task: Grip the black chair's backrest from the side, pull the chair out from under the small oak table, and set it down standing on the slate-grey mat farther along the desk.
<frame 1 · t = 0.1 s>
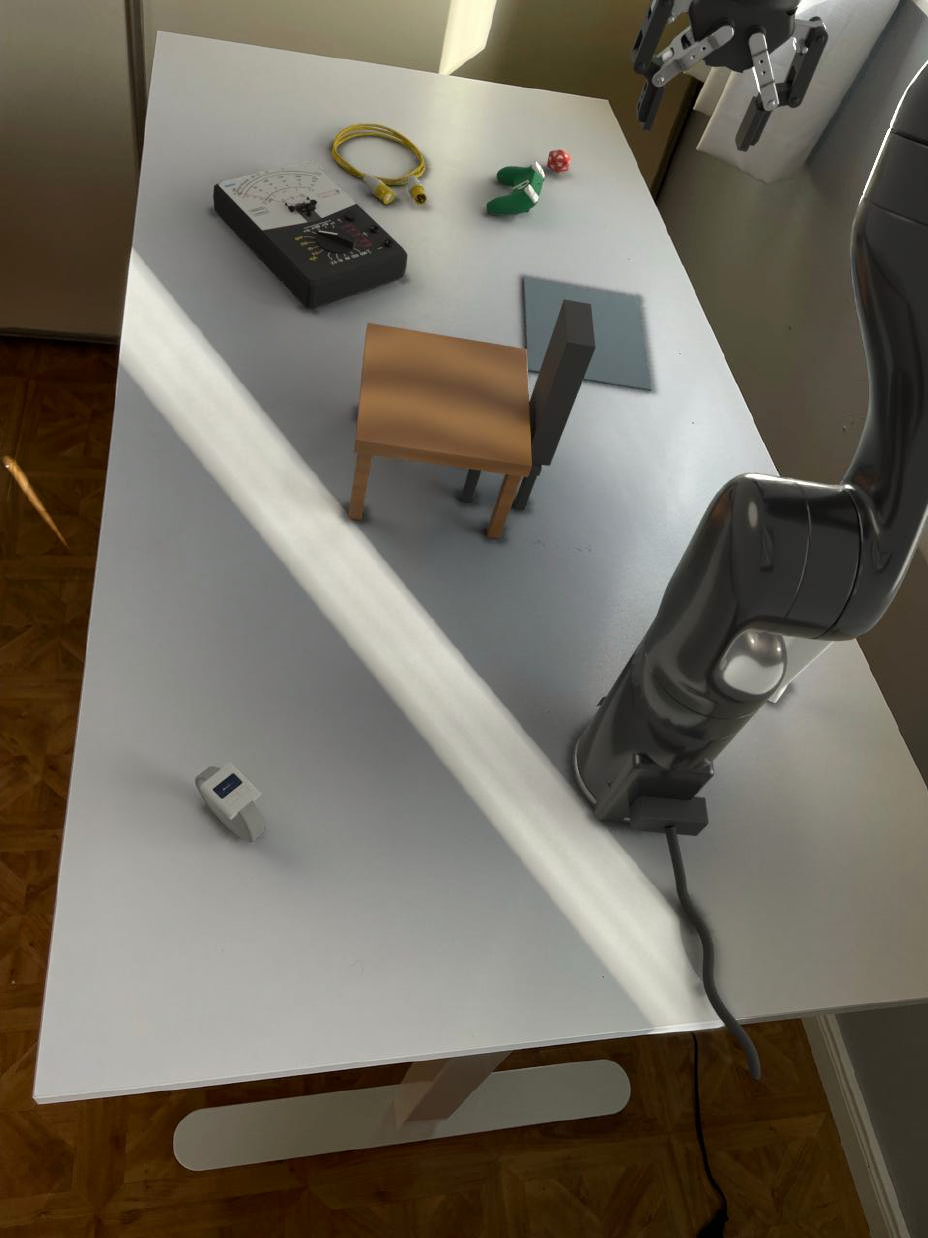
hand: (693, 136, 84), 29 cm above the table, tool pointing down, fingers open, 8 cm apart
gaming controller: (512, 203, 126), on the table
multimeter: (308, 247, 113), on the table
mat: (585, 332, 113), on the table
wristwatch: (230, 819, 73), on the table
die: (555, 172, 132), on the table
side table: (427, 472, 96), on the table
extension cord: (379, 169, 124), on the table
chair: (492, 481, 97), on the table
perfume bottle: (765, 686, 90), on the table
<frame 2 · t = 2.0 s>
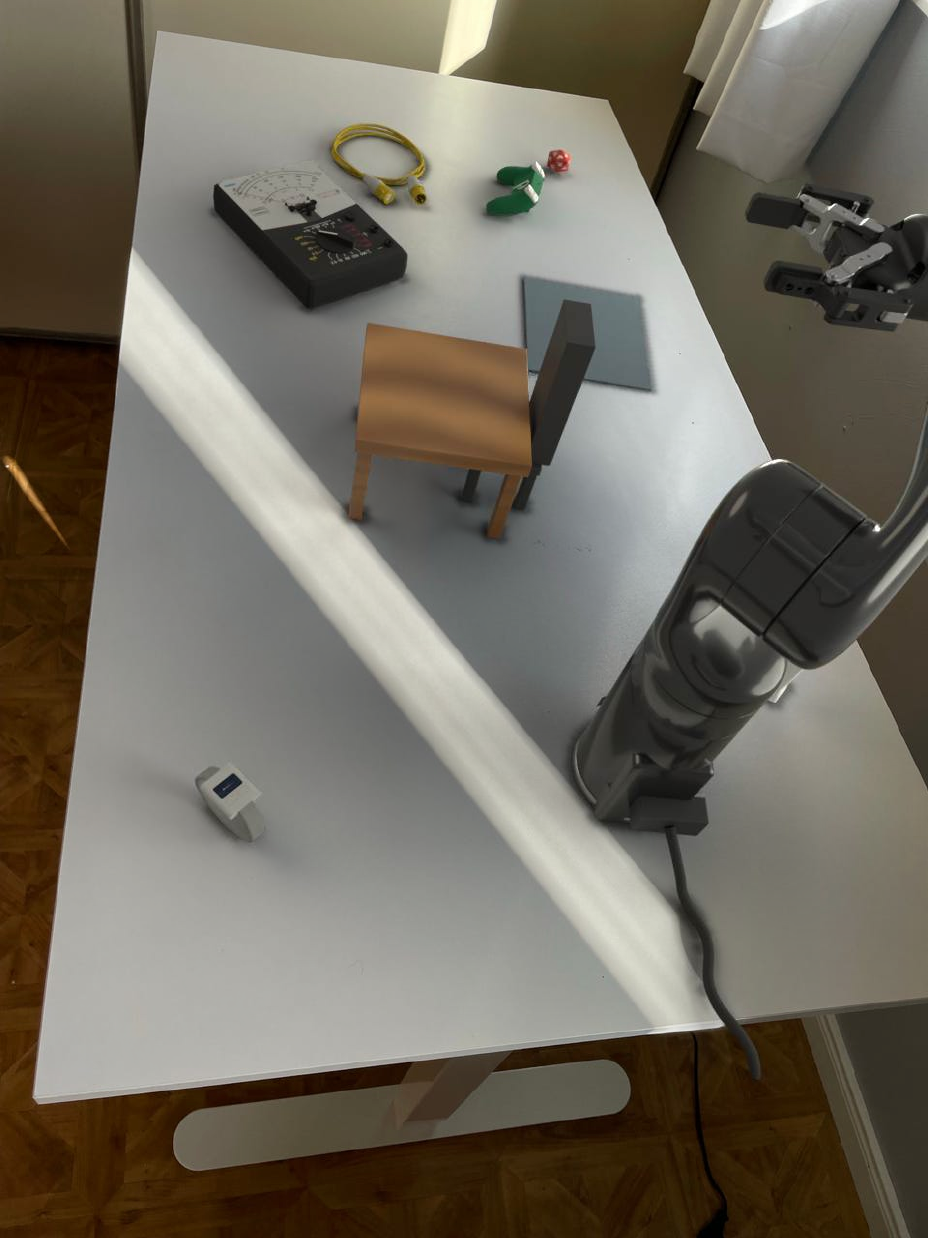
hand: (758, 239, 75), 30 cm above the table, tool horizontal, fingers open, 8 cm apart
nothing on the table moved.
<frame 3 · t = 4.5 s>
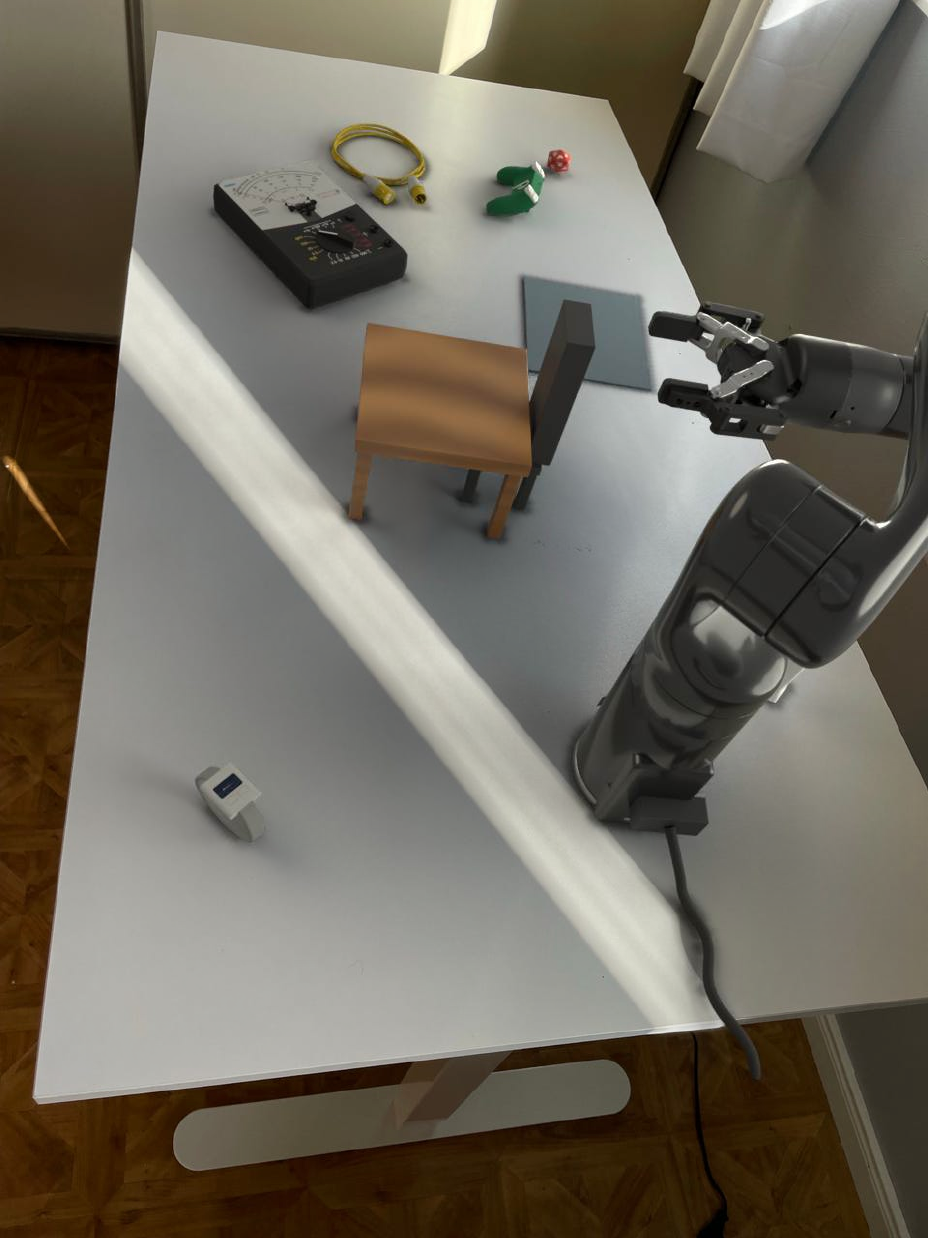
hand: (655, 355, 84), 18 cm above the table, tool horizontal, fingers open, 8 cm apart
nothing on the table moved.
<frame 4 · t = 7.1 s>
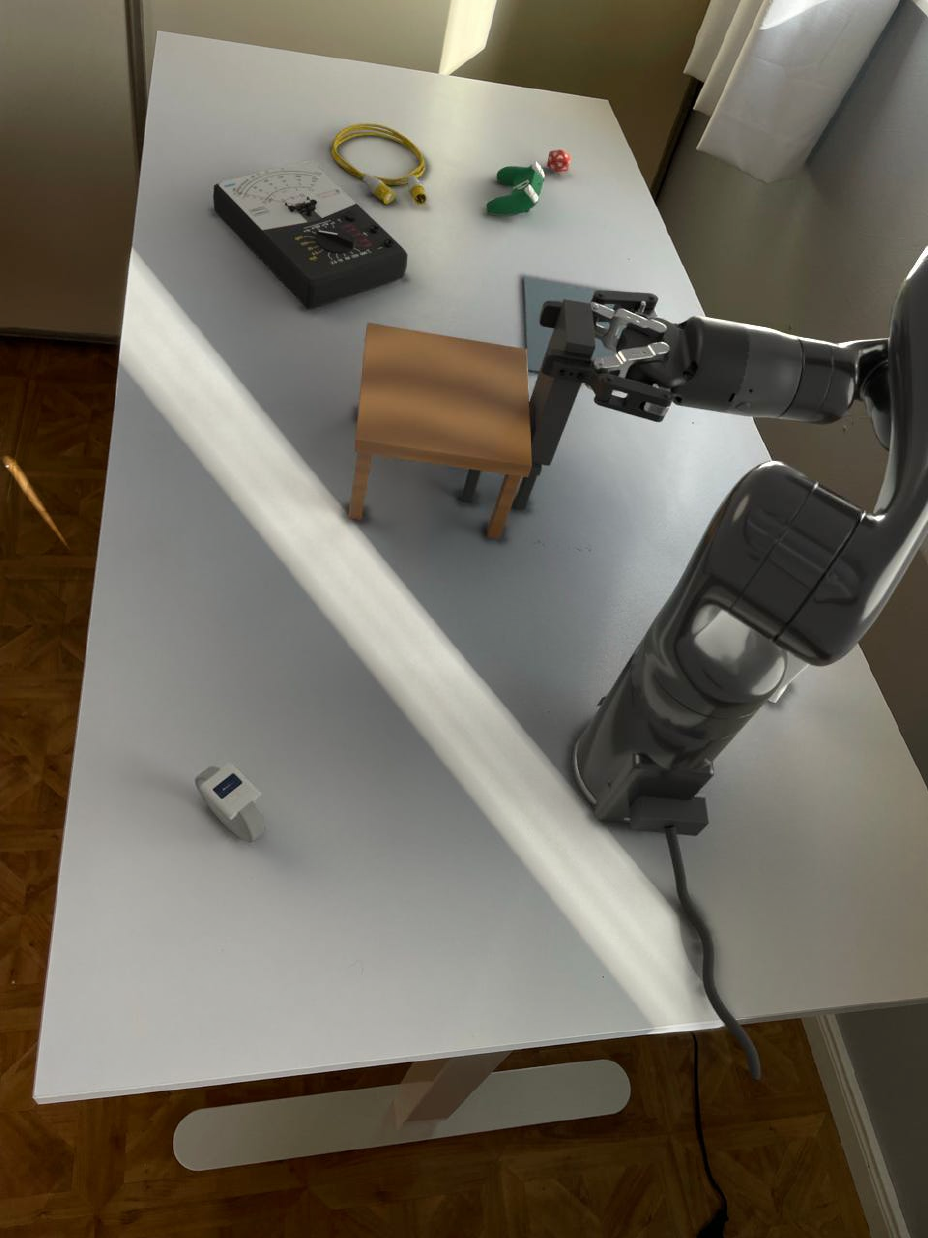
hand: (543, 336, 83), 18 cm above the table, tool horizontal, fingers closed on chair, 5 cm apart
chair: (492, 481, 97), on the table, touching gripper
everything else where it was.
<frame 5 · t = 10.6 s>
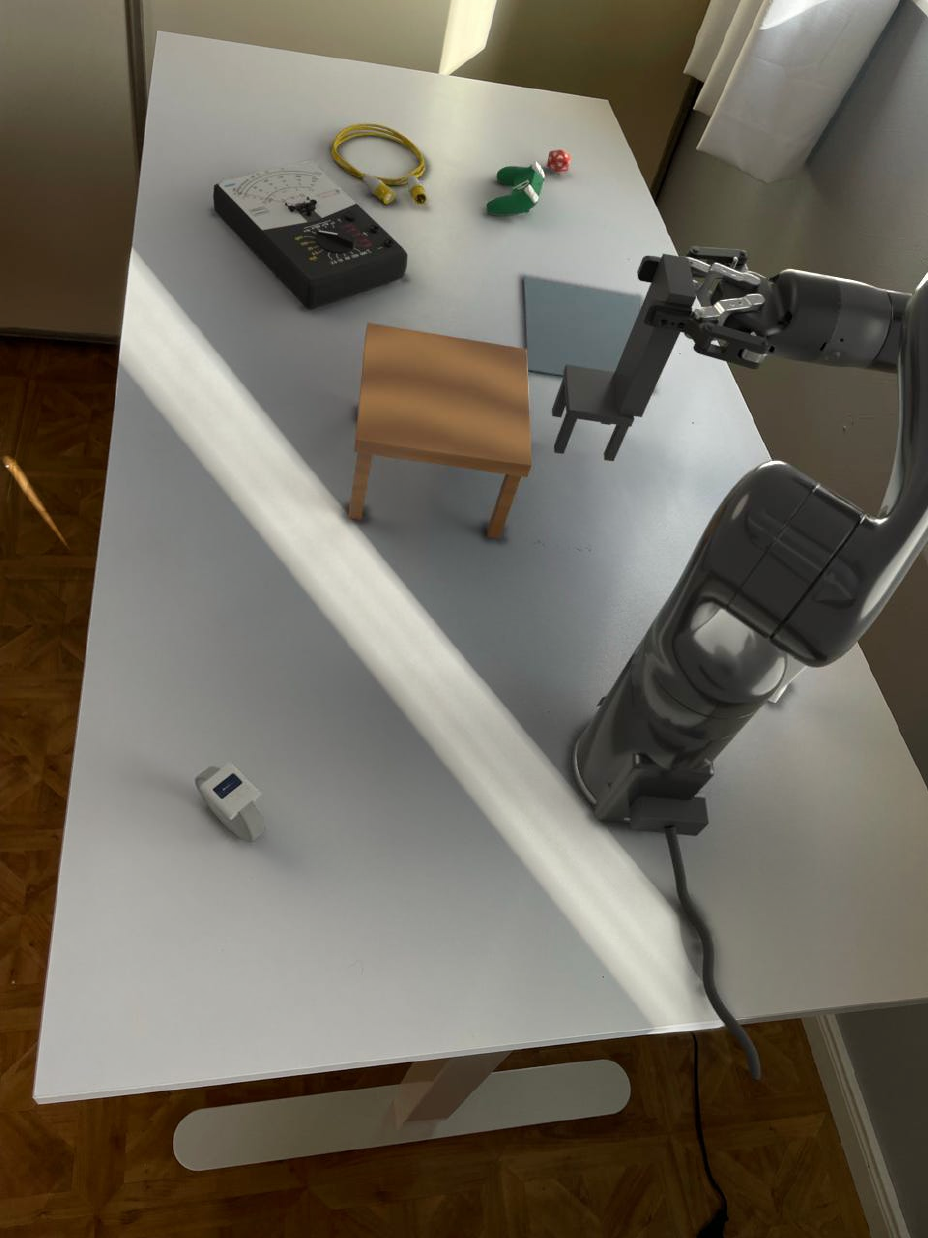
hand: (643, 289, 87), 19 cm above the table, tool horizontal, fingers closed on chair, 5 cm apart
chair: (582, 435, 102), point 1 cm above the table, touching gripper
everything else where it was.
when the fingers open (18 cm above the table, at t = 14.6 s): chair stays where it is, resting on mat.
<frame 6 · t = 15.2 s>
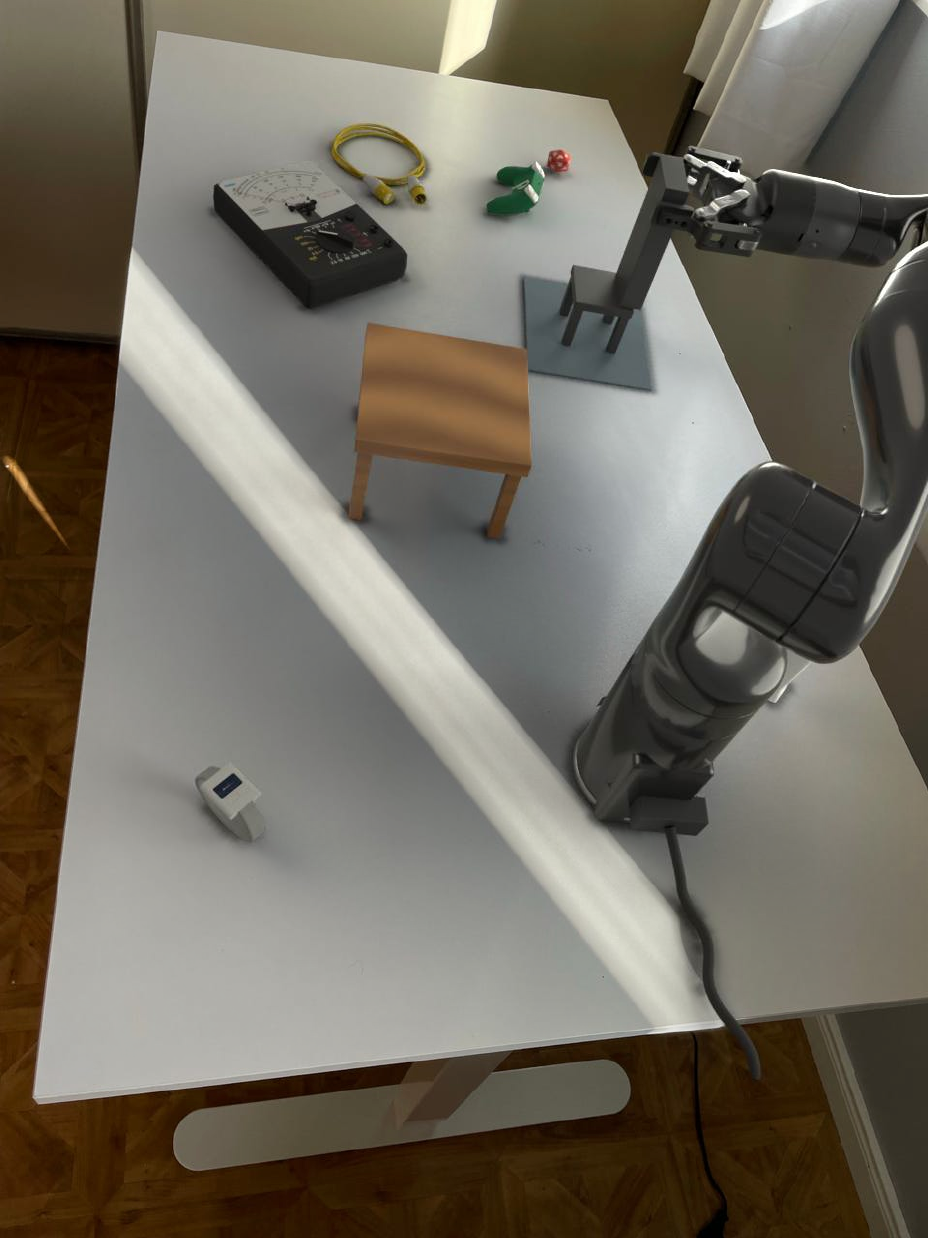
hand: (648, 186, 99), 18 cm above the table, tool horizontal, fingers open, 8 cm apart
chair: (586, 331, 113), resting on mat
everything else where it was.
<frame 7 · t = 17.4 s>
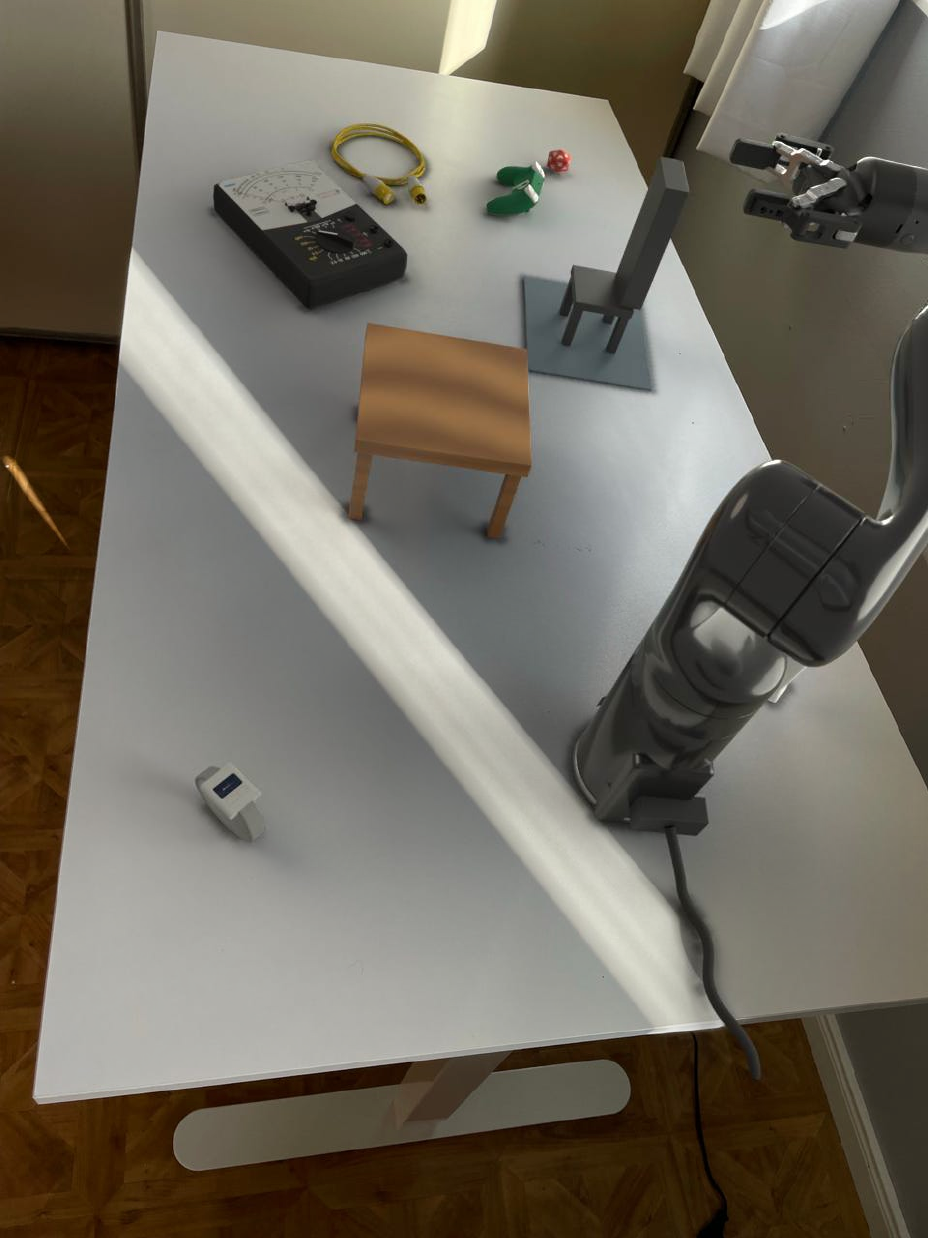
hand: (739, 174, 93), 24 cm above the table, tool horizontal, fingers open, 8 cm apart
nothing on the table moved.
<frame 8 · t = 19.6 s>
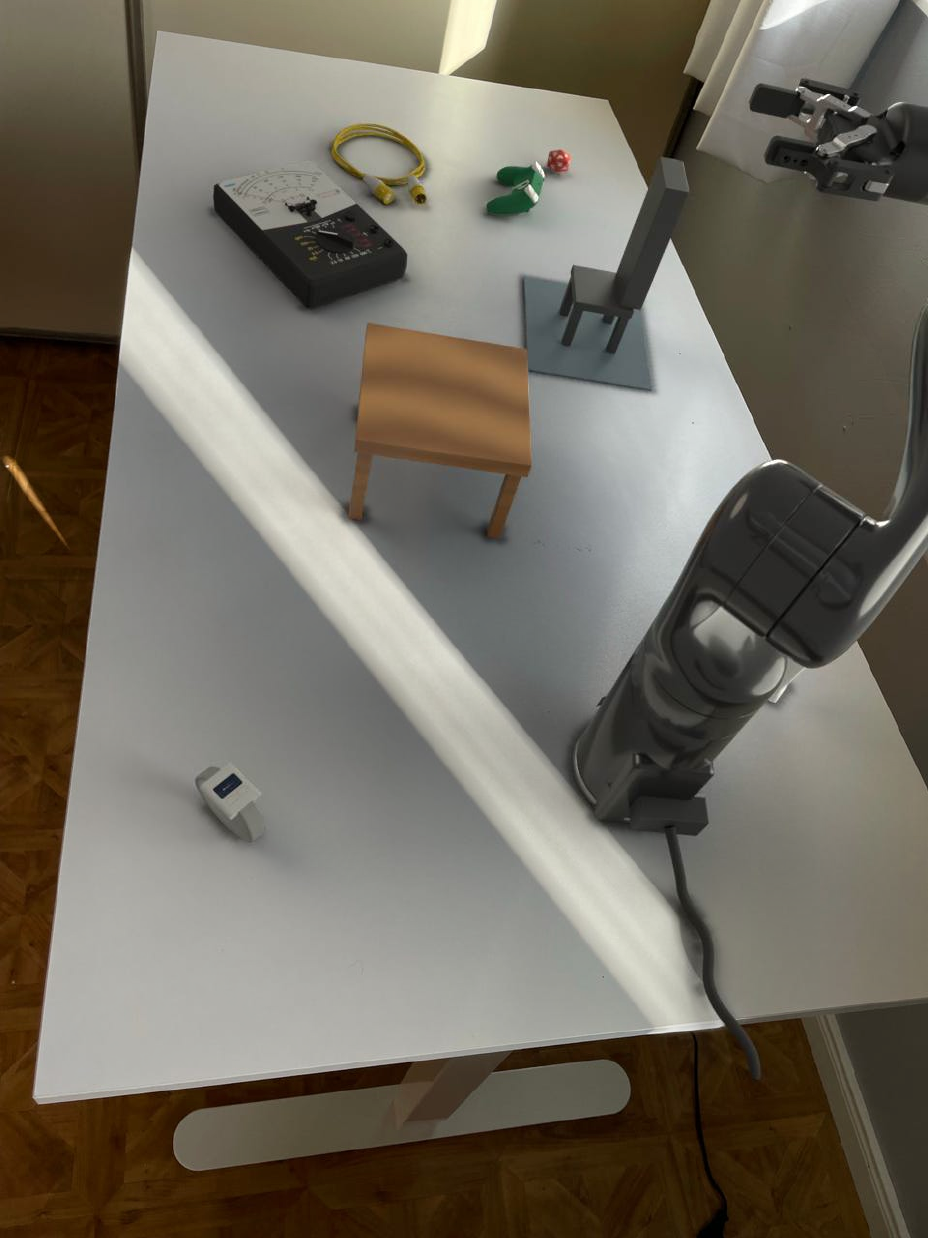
hand: (760, 121, 86), 30 cm above the table, tool horizontal, fingers open, 8 cm apart
nothing on the table moved.
at the end: chair inside the target area on the mat (0.1 cm from its centre), point 0.2 cm above the mat's base; chair tilted 0°; the gripper is holding nothing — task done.
